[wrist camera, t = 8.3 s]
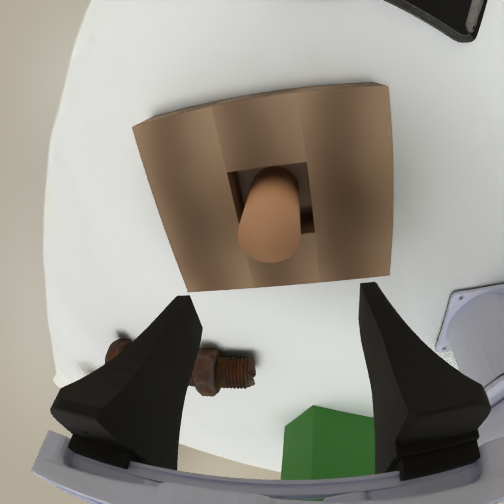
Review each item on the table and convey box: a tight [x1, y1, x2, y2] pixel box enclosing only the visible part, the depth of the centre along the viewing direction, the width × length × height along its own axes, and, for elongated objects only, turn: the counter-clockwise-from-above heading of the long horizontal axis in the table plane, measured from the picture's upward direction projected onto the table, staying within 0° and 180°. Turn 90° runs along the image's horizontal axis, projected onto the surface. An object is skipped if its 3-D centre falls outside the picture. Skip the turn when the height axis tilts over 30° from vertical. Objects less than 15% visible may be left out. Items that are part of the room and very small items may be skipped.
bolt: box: [105, 339, 256, 396], centre depth 30 cm, size 6×5×15 cm
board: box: [132, 82, 393, 292], centre depth 19 cm, size 14×12×3 cm
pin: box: [238, 166, 301, 263], centre depth 18 cm, size 3×3×6 cm
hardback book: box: [281, 405, 375, 501], centre depth 29 cm, size 18×7×24 cm, turn 67°
